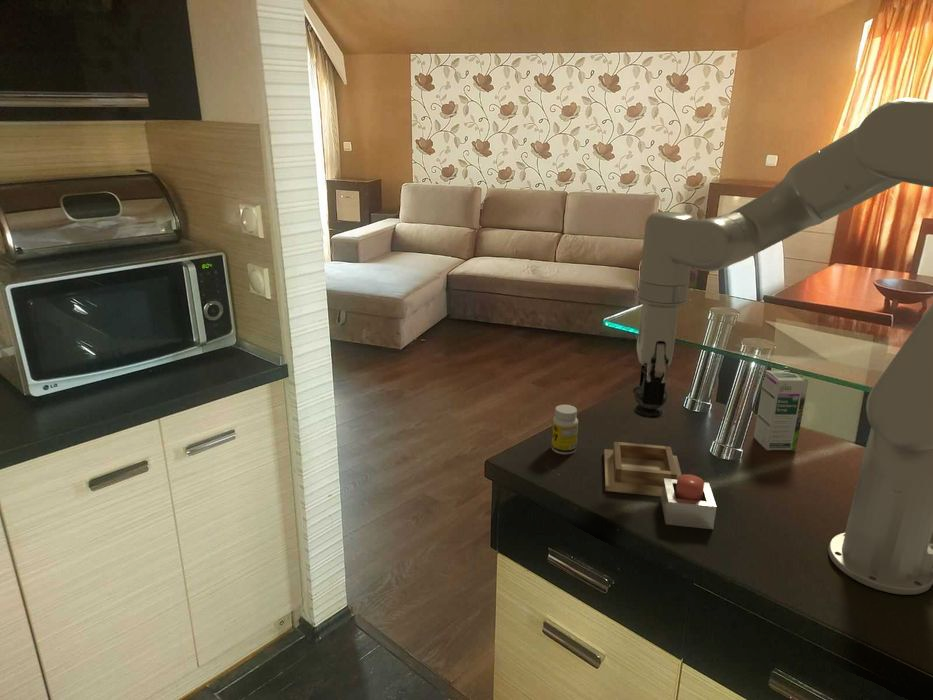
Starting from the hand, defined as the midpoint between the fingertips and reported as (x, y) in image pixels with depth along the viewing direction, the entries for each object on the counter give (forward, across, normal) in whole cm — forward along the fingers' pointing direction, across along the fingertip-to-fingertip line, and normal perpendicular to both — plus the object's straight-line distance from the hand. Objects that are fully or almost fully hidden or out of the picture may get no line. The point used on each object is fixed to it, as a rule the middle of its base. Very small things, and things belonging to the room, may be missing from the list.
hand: (650, 394), depth 109 cm
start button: (+12, +11, +6) cm, 18 cm away
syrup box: (+15, -17, +26) cm, 35 cm away
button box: (+15, +11, +6) cm, 20 cm away
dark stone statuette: (+3, 0, 0) cm, 3 cm away
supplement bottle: (+16, -7, -14) cm, 22 cm away
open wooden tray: (+15, 0, 0) cm, 15 cm away
